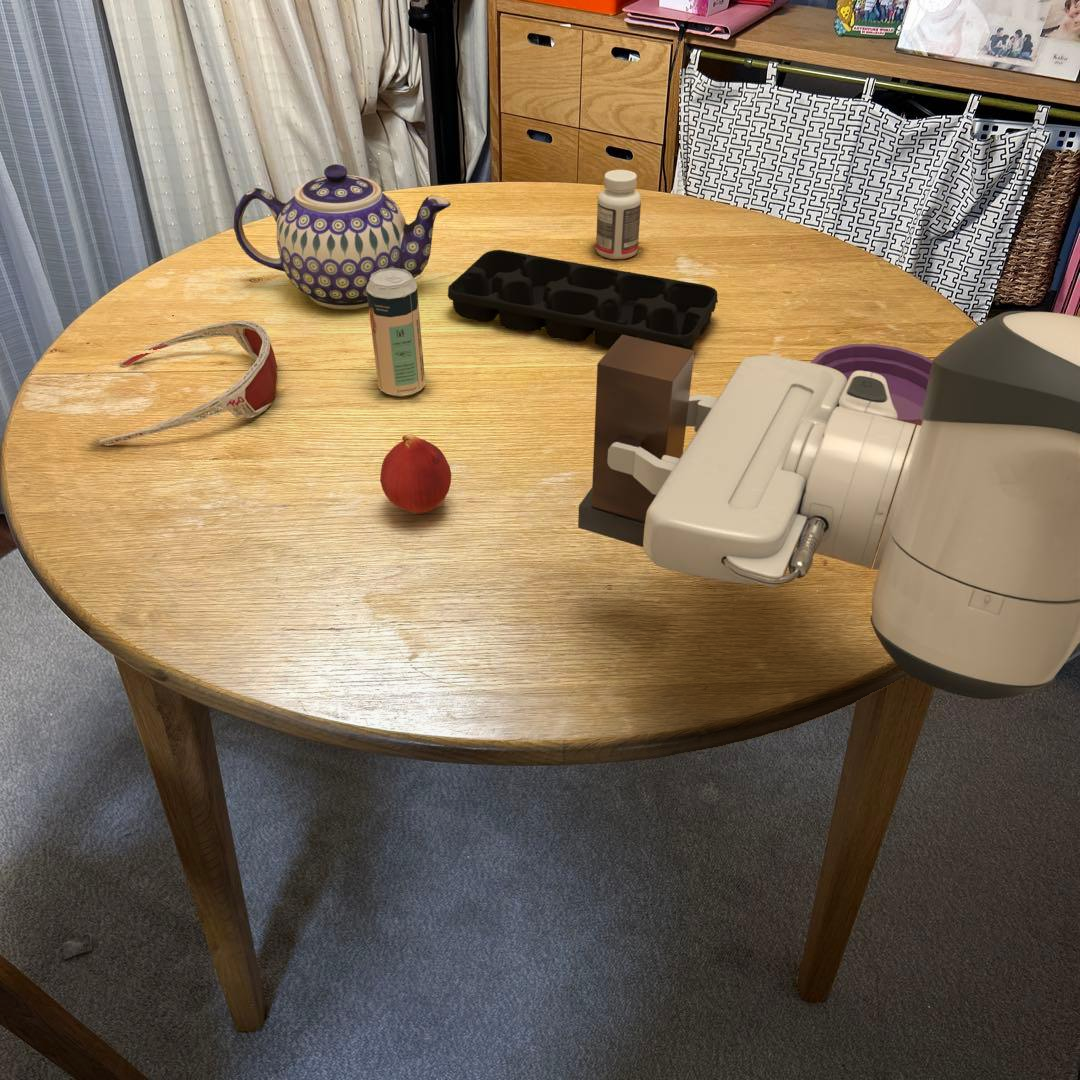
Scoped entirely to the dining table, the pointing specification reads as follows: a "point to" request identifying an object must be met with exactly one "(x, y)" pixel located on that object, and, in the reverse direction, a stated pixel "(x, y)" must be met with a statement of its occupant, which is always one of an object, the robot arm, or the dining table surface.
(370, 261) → the teapot
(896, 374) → the purple round dish
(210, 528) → the dining table surface
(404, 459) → the onion
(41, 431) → the dining table surface
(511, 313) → the black muffin tray
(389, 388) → the beer can
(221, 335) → the sunglasses
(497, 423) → the dining table surface
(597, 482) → the brown rectangular block
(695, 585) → the dining table surface
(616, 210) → the pill bottle
